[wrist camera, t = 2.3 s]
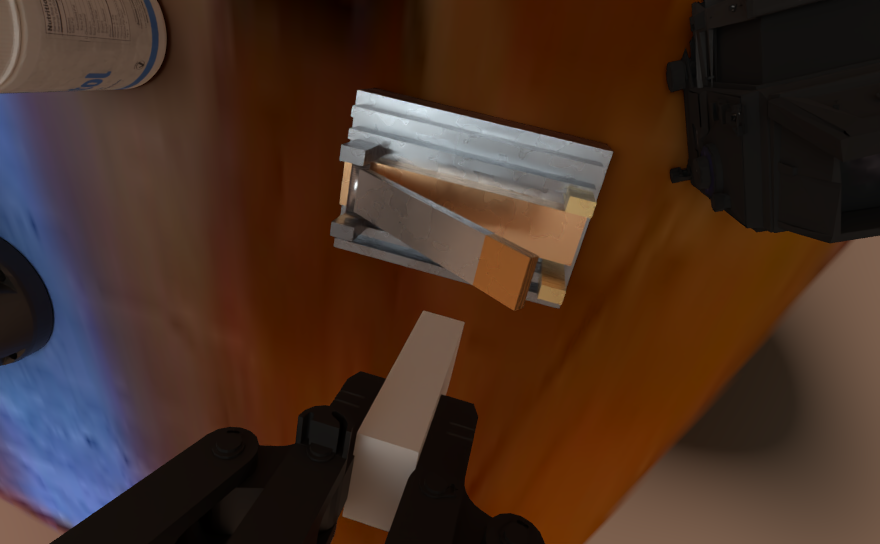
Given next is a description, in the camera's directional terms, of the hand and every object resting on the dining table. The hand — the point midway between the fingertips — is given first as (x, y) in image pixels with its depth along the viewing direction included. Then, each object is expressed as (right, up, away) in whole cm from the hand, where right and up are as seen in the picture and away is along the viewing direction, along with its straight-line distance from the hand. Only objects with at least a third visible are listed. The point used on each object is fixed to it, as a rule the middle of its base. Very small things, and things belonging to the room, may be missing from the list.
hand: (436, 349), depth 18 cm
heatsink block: (+3, +9, +23) cm, 25 cm away
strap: (0, +6, +13) cm, 14 cm away
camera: (+20, +16, +17) cm, 31 cm away
